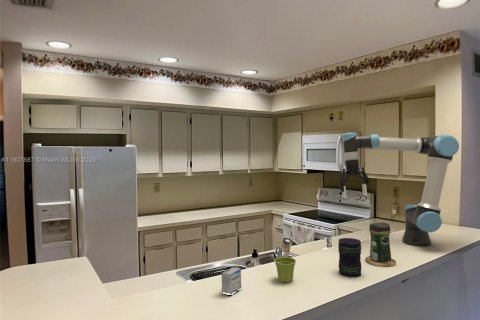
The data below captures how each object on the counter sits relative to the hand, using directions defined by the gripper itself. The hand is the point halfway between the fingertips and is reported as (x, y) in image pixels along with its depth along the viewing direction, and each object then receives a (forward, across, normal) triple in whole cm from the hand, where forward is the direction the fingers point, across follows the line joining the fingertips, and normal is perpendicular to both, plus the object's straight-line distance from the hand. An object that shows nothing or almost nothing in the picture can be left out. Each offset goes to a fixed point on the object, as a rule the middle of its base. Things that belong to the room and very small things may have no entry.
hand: (354, 196), depth 184 cm
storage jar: (+31, +27, +31) cm, 51 cm away
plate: (+31, +4, +22) cm, 38 cm away
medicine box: (+29, +83, +34) cm, 94 cm away
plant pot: (+30, +58, +29) cm, 71 cm away
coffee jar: (+30, +4, +22) cm, 38 cm away
